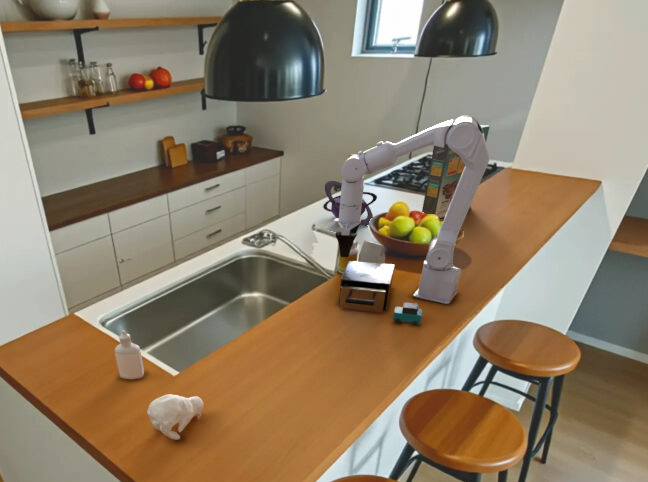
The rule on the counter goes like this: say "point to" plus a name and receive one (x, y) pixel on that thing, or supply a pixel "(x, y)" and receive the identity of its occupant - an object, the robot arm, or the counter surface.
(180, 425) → the white animal figurine
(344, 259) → the supplement bottle
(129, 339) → the eye dropper bottle
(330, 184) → the decorative bottle
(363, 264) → the cabinet
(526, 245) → the counter surface
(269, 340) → the counter surface
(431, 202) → the cake mix box
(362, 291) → the drawer
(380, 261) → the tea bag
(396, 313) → the toy car
